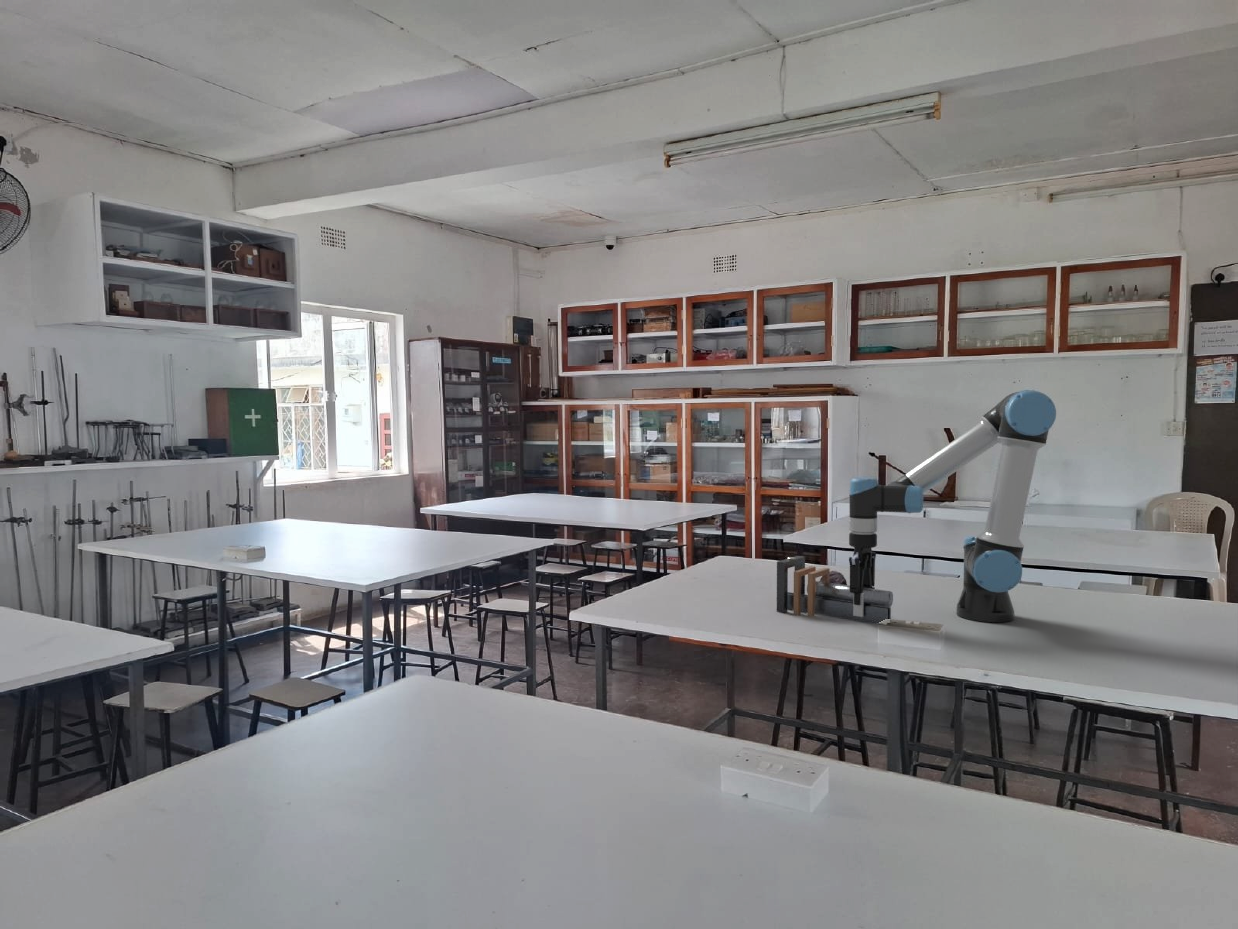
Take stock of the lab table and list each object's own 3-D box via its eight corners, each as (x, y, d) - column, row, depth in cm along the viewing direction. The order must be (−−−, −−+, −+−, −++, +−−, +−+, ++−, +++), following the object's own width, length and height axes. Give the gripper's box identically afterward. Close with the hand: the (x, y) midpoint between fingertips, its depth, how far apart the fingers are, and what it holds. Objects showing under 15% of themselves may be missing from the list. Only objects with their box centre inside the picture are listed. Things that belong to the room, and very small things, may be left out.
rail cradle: (890, 623, 221) (890, 607, 221) (886, 625, 219) (886, 609, 218) (787, 606, 241) (787, 592, 241) (782, 608, 239) (782, 593, 239)
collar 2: (829, 609, 237) (829, 568, 236) (812, 616, 229) (812, 573, 228) (824, 609, 238) (824, 567, 237) (807, 616, 230) (807, 573, 229)
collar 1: (815, 607, 240) (815, 566, 239) (798, 614, 231) (798, 572, 231) (810, 606, 241) (811, 566, 240) (793, 613, 232) (793, 571, 232)
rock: (812, 606, 247) (845, 608, 243) (810, 580, 246) (844, 581, 241) (819, 593, 258) (851, 595, 253) (818, 568, 256) (850, 569, 252)
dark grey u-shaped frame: (804, 605, 243) (805, 555, 242) (784, 613, 233) (784, 561, 232) (797, 604, 245) (797, 554, 244) (776, 611, 235) (776, 560, 234)
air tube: (893, 605, 221) (893, 590, 221) (886, 608, 218) (887, 592, 217) (813, 594, 236) (813, 579, 236) (806, 596, 233) (806, 581, 233)
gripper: (862, 528, 232) (861, 606, 234) (837, 534, 219) (836, 618, 220) (887, 530, 228) (886, 610, 229) (863, 537, 214) (862, 622, 215)
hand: (862, 614), depth 224 cm, fingers closed on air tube, 4 cm apart
